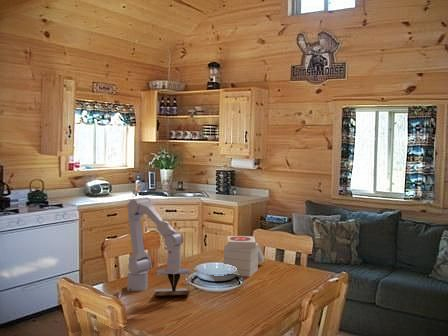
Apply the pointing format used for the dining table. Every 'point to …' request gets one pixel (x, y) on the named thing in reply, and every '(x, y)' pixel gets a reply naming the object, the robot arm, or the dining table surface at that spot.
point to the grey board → (171, 289)
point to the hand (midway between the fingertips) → (173, 290)
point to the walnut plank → (171, 293)
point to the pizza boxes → (243, 254)
